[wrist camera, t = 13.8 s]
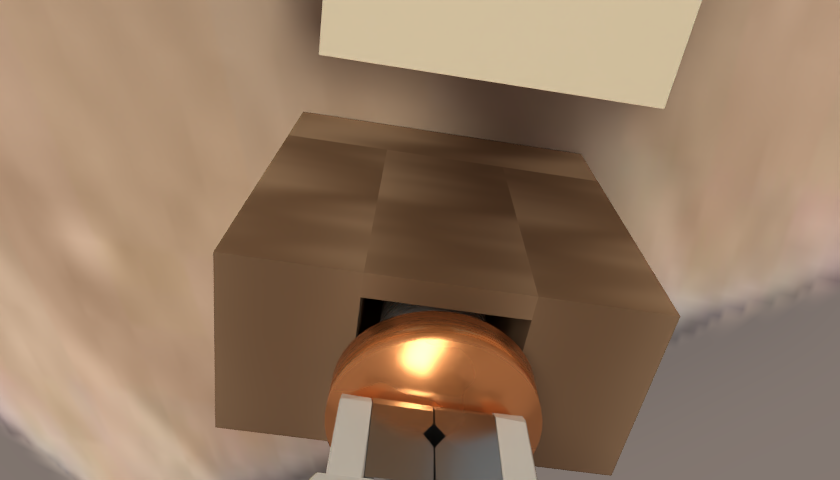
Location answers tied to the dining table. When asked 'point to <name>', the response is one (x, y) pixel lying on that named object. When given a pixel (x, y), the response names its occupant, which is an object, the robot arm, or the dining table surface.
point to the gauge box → (435, 277)
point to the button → (437, 365)
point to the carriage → (522, 42)
